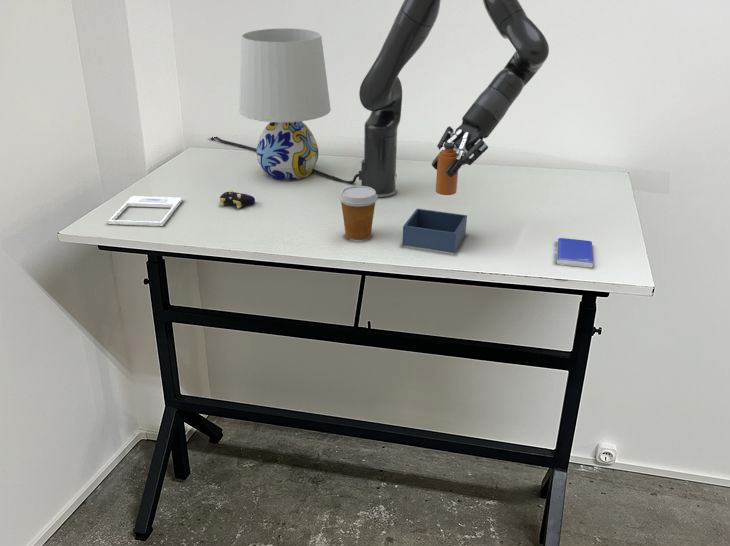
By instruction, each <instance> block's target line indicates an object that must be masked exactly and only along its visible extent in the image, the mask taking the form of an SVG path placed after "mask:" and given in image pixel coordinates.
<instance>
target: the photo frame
mask: <svg viewBox="0 0 730 546" xmlns="http://www.w3.org/2000/svg"><path fill="white" fill-rule="evenodd" d="M182 202H183V197H177V196H175V197H172V196H170V197H169V196H141V195H131V196H130V197H129V198H128V199H127V200H126V202H124V204H122V205H121V206H120V207H119V209H117V210H116V211H115V213H114V214H113V215H111V217H110V218H109V219H108V220H107V223H108V225H121V226H123V225H124V226H125V225H126V226H151V227H153V226H154V227H164V225H165V224H166V222H167V221H168V220H169V218H170V217H171V216H172V215H173V213H174V212H175V211H176V210H177V208H178V207H179V206H180V204H181V203H182ZM128 207H139V208H166V209H167V208H169V210H168V212H167V213H166V214H165V215H164V216H163V218H162V219H161V220H160V221H158V220H157V221H155V220H154V221H153V220H129V219H127V220H126V219H118V217H119V216H120V215H121V214H122V213H123V212H124V211H125V210H126V209H127V208H128Z"/></svg>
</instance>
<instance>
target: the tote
mask: <svg viewBox="0 0 730 546" xmlns="http://www.w3.org/2000/svg"><path fill="white" fill-rule="evenodd" d="M467 222H468V215H467V214H460V213H452V212H447V211H438V210H431V209H424V208H416V209H415V210H414V212H412V214H411V215H410V217H409V218H408V219H407V220H406V222H405V223H404V224H403V226H402V242H401V245H402V246H404V247H405V246H406V247H412V248H418V249H425V250H432V251H439V252H445V253H452V254H455V253H456V251H457V250H458V247H459V246H460V245H461V242H462V241H463V239H464V237H465V235H466V233H467Z"/></svg>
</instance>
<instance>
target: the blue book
mask: <svg viewBox="0 0 730 546" xmlns="http://www.w3.org/2000/svg"><path fill="white" fill-rule="evenodd" d="M556 247H557V250H556V264H557V265H560V266H561V265H562V266H572V267H580V268H593V266H594V253H593V241H592V240H587V239H586V240H585V239H575V238H568V237H567V238H566V237H559V238H558V239H557V246H556Z"/></svg>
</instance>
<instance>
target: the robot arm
mask: <svg viewBox="0 0 730 546" xmlns="http://www.w3.org/2000/svg"><path fill="white" fill-rule="evenodd" d="M441 3H442V0H403V2H402V3H401V5H400V8H399V10H398V13H397V15H396V17H395V19H394V20H393V23H392V26H391V28H390V30H389V31H388V34H387V36H386V38H385V40H384V42H383V44H382V47H381V49H380V51H379V53H378V55H377V57H376V58H375V60H374V62H373V64H372V65H371V67H370V69H369V70H368V72H367V73H366V74H365V76H364V78H363V79H362V81H361V84H360V87H359V93H358V94H359V95H358V96H359V101H360V104H361V106H362V107H363V108H364V109H365V110H367V111H370V114H369V116H368V118H367V119H366V121H365V122H364V128H363V134H364V136H363V153H364V154H363V159H362V160H361V170H359V171H358V173H356V174H355V175H354V176H353V178H352V180H344V179H342V178H339V177H337V176H334V175H332V174H328V173H325V172H322V171H320V170H317V169H315V168H314V169H313V170H312V172H311V173H315V174H317V175H320V176H323V177H325V178H329V179H332V180H334V181H337V182H340V183H344V184H350V185H352V184H355V182H356V181H357V178H358V180H359V181H361V186H367V187H371V188H373V189H374V190H375V191H376V195H377V196H378V197H377V198H386V197H391V196H394V195H395V194H396V191H397V189H396V185H397V184H396V180H397V176H398V174H397V153H398V149H397V148H398V128H399V125H400V122H401V117H402V108H403V107H402V105H403V85H402V82H401V79H400V78H399V75H400V73H401V72H402V70H403V69H404V68H405V66H406V65H407V64H408V63H409V62H410V60H411V59H412V58H413V57H414V56H415V55H416V53H417V52H418V51H419V50H420V49H421V47H422V46H423V45H424V43H425V42H426V40H427V39H428V37H429V35H430V33H431V31H432V30H433V27H434V26H435V23H436V22H437V19H438V16H439V13H440V8H441ZM482 3H483V6H484V8H485V9H484V10H485V11H486V14H487V15H488V17H489V19H490V20H491V22H492V24H493V25H494V27H495V29H496V31H497V32H498V33H499V35H500V36H501V37H502V38H503V39H505V40H508V41H509V42H510V44H511V46H513V48H514V49H515V52H514V53H513V55H512V56H511V57H510V59H509V61H507V63H506V64H505V66H504V67H503V68H502V69H500V71H499V72H498V73H497V74H496V75H495V76H494V78H493V79H492V80H491V82H490V83H488V85H487V87H486V88H485V89H484V90H483V91H482V92H481V93H480V94H479V95H478V97H476V99H475V100H474V102H473V103H472V104H471V106H470V107H469V108H468V109H467V111H466V112H465V114H463V116H462V119H461V120H462V122H461V124H460V125H459V126H457V128H452V126H451V125H450V126H447V127H446V129H445V131H444V133H443V134H442V136H441V138H440V139H439V142H438V143H437V146H436V147H437V149H438V150H439V153H441V151H442V150H444V149H445V148H444V144H445V143H454V144H455V148H454V149H453V150H455V151H456V152H457V153H458V155H457V157H456V159H457V160H456V159H454V160H453V162H452V163H451V164H450V166H449V167H448V168H447V169H446V174H447V175H448V176H450V177H453V175H455V174H456V172H457V171H458V172H459V170H460V169H461V167H462V166H465V165H468V166H471V165H473V164H474V163H475V162H476V161H477V160H478V159H479V158H480V157H481V156H482V155H483V153H485V152H486V151H487V150H488V149H489V146H488V144H487V143H486V142H485V141H484V139H487V138H488V137H489V136H490V135H491V134H492V132H493V131H494V130H495V128H496V127H498V124H499V123H500V122H501V121H502V120H503V118H504V117H505V115H506V114H507V112H508V110H509V109H510V107H511V106H512V105H513V104H514V102H515V101H516V100H517V98H518V97H519V96H520V94H521V93H522V91H523V89H524V88H525V86H526V85H528V83H529V82H530V81H531V80H532V79H533V77H535V75H536V74H537V73H538V71H540V69H541V68H542V66H543V65H544V64H545V62H546V61H547V59H548V58H549V53H550V46H549V43H548V40H547V38H546V36H545V34H543V32H542V31H541V30H540V28H539V27H538V26H537V25H536V24H535V23H534V21H532V20H531V19H530V18H529V17H528V15H527V13H526V11H525V10H524V8H523V6H522V5H521V3H520V1H519V0H482ZM213 140H217V141H219V142H220V143H223V144H228V145H231V146H236V147H240V148H243V149H247V150H250V151H254V152H257V147H252V146H249V145H246V144H241V143H237V142H233V141H228V140H225V139H221V138H220V137H218V136H216V137H214V138H213V136H211V138H210V141H213ZM437 162H438V154H437V156H436V157H435V158H433V161H432V162H431V167H432V168H433V169H434V170H436V171H437Z"/></svg>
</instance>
